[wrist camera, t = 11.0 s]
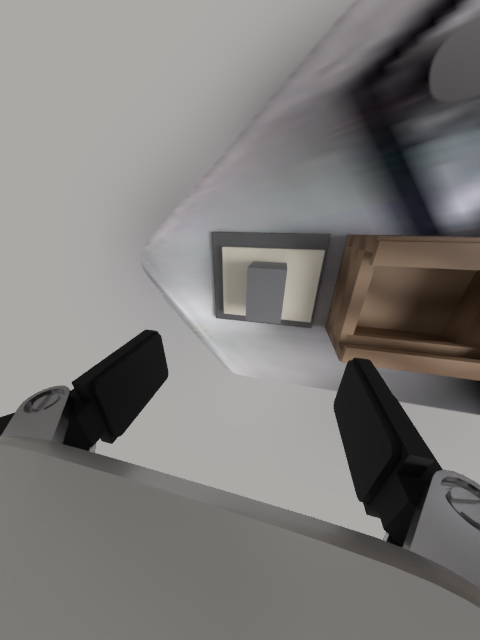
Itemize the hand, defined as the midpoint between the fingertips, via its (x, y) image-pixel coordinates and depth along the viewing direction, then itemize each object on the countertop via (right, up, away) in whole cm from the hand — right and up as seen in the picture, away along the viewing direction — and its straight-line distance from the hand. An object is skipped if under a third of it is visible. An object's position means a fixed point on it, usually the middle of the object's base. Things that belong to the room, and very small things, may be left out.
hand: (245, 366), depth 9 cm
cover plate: (+4, +7, +15) cm, 17 cm away
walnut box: (+19, +6, +13) cm, 24 cm away
